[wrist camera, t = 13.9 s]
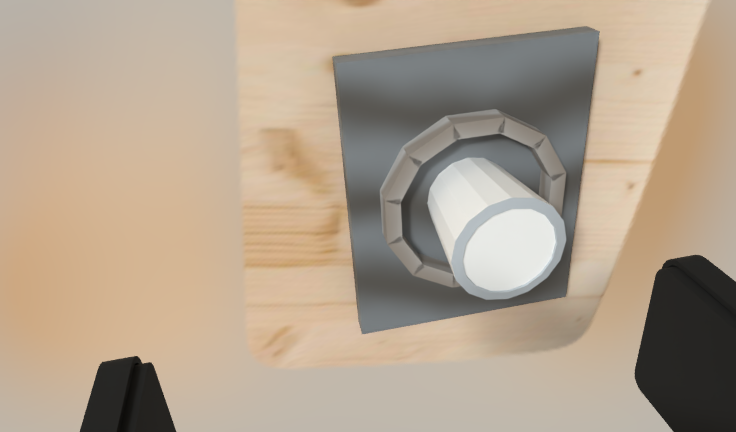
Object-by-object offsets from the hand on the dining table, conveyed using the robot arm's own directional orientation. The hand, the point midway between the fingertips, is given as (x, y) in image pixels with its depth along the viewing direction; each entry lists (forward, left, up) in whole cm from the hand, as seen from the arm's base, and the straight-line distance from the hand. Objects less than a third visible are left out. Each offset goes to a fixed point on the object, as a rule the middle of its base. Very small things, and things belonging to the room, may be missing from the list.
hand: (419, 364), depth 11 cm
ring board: (+11, +10, -26) cm, 30 cm away
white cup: (+11, +10, -25) cm, 29 cm away
